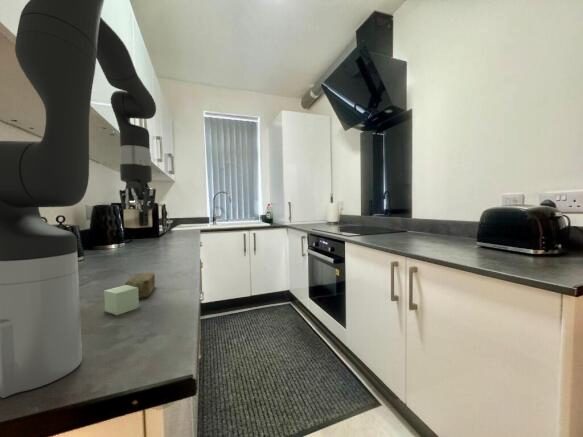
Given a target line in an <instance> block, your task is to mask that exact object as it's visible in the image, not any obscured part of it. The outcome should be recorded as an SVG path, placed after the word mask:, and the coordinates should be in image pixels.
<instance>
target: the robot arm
mask: <svg viewBox="0 0 583 437" xmlns="http://www.w3.org/2000/svg"><path fill="white" fill-rule="evenodd" d="M104 3H105V0H29V1H28V2H26V4H25V6H23V9H22V10H21V13H20V16H19V19H18V20H19V21H18V26H17V30H16V36H15V42H14V43H15V46H14V52H15V56H16V59H17V62H18V64H19V66H20V68H21V70H22V72H23V73H24V75H25V77H26V78H27V79H28V81H29V83H30V84H31V87H33V89H34V90H35V92H36V93H37V94H38V97H39V99H41V101H42V103H43V105H44V110H45V127H44V133H43V137H42V138H41V140H40V141H36V140H35V141H29V140H28V141H27V140H24V141H23V140H0V398H1V399H4V398H8V397H9V396H12V395H14V394H17V393H22V392H26V391H30V390H33V389H37V388H41V387H43V386H46V385H48V384H51V383H53V382H56V381H57V380H60V379H61V378H63V377H65V376H67V375H69V374H70V373H71V372H73V371H74V370H76V369H77V368H78V367H79V365H81V363H82V361H83V353H82V352H83V351H82V350H83V345H82V330H81V329H82V328H81V327H82V326H81V306H80V305H81V304H80V284H79V280H80V279H79V260H78V258H79V257H78V241H77V236H76V235H75V234H74V232H72V231H69V230H65V229H61V228H59V227H56V226H54V225H51V224H50V223H48V222H47V221H46V220H44V219H43V218H42V216H41V212H40V208H62V207H63V208H64V207H66V208H67V207H72V206H76V205H78V204H79V203H80V202H81V201H82V200H83V199H84V196H85V195H86V192H87V189H88V185H89V179H90V178H89V177H90V114H91V112H90V111H91V103H92V102H91V101H92V93H93V92H92V91H93V86H94V77H95V73H96V65H97V62H98V64H99V66H100V68H101V70H102V73H103V74H104V76H105V78H106V80H107V82H108V84H109V85H110V86H112V87H113V88H114V89H117V90H115V91H114V92H112V94H111V95H110V105H111V108H112V111H113V114H114V116H115V120H116V123H117V126H118V130H119V142H120V143H119V146H120V147H119V148H120V150H119V173H120V176H119V178H120V181H121V182H123V183H124V182H125V183H126V184H125V188H124V189H119V190H118V191H119V193H118V194H119V198H120V204H121V205H120V206H121V209H122V211H124V210H127V209H139V212H141V213H139V225H140V226H148V224H149V219H148V212H150V210H152V211H153V210H154V209H155V200H156V193H157V192H156V191H157V189H156V188H154V187H149V183H151V182H153V176H152V172H153V171H152V169H153V168H152V156H151V149H150V148H151V147H150V146H151V144H150V132H149V130H148V128H145V127H144V126H141V125H137V124H133V123H132V122H131V119H139V120H141V119H142V120H150V119H153V117H155V116H156V113H157V105H156V102H155V100H154V98H153V95H152V94H151V93H150V91H149V90H148V89H147V87H146V86H145V84H144V82H143V81H142V80H141V78H140V77H139V75H138V73H137V71H136V68H135V65H134V62H133V59H132V56H131V54H130V52H129V50H128V48H127V46H126V44H125V42H124V41H123V40H122V39H121V37H120V36H119V35H118V33H117V32H116V31H114V29H113V28H112V27H111V26H110V25H109V24H108V23H107V22H106V21H105V20H104V19H103V18H102V10H103V7H104Z"/></svg>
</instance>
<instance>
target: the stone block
mask: <svg viewBox="0 0 583 437" xmlns="http://www.w3.org/2000/svg"><path fill="white" fill-rule="evenodd" d="M155 276H156V275H155V272H146V273H145V272H138V273H134V274H133V275H131V276H130V278H128V279H127V281H125V284H124V285H129V286H133V287H138V296H139V299H144V298H148V297H149V296H150V295H151V293H152V291H154V289H155V284H156V282H155V281H156V280H155Z"/></svg>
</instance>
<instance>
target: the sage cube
mask: <svg viewBox="0 0 583 437" xmlns="http://www.w3.org/2000/svg"><path fill="white" fill-rule="evenodd" d="M103 293H104V312H106V313H109V314H112V315H115V316H119V315H122V314H125V313H127V312H131V311H133V310H136V309H139V307H140V306H139V304H140V303H139V302H140V301H139V300H140V298H139V296H138V287H133V286H129V285H125V284H124V285H121V286H117V287H113V288H109V289H106V290H104V291H103Z"/></svg>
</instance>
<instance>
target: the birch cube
mask: <svg viewBox="0 0 583 437" xmlns="http://www.w3.org/2000/svg"><path fill="white" fill-rule="evenodd" d="M139 213H141V212H139V209H138V208H137V209H127V210H123V228H125V229H126V228H127V229H140V228H152V227H153V210H150V212H148V219H149V224H148V226H140V225H139Z"/></svg>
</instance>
